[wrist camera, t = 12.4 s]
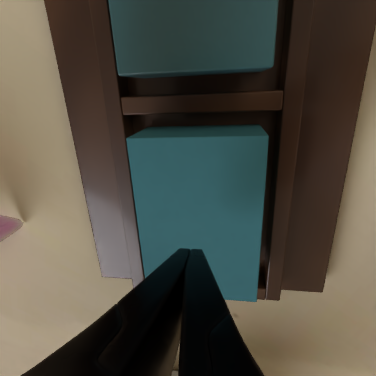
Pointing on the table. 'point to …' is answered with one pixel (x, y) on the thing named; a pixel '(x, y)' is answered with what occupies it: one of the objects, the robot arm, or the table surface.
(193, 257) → the robot arm
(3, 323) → the table surface
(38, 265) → the table surface
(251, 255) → the pad
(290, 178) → the brown two-compartment tray
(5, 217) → the lily
